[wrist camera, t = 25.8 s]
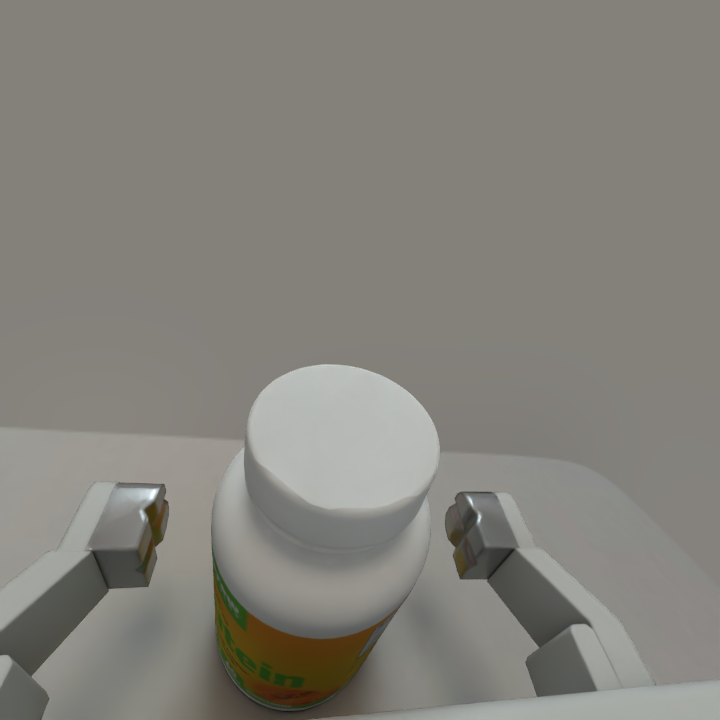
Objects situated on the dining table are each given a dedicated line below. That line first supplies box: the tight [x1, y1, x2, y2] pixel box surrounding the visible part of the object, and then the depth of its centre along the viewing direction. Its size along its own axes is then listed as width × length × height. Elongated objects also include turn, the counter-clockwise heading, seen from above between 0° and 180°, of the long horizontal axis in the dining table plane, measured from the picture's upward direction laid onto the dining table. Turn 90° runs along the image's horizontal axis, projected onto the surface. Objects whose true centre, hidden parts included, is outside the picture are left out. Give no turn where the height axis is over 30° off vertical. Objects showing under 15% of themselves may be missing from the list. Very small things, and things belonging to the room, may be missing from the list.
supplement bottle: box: [211, 365, 440, 711], centre depth 11 cm, size 5×5×10 cm
